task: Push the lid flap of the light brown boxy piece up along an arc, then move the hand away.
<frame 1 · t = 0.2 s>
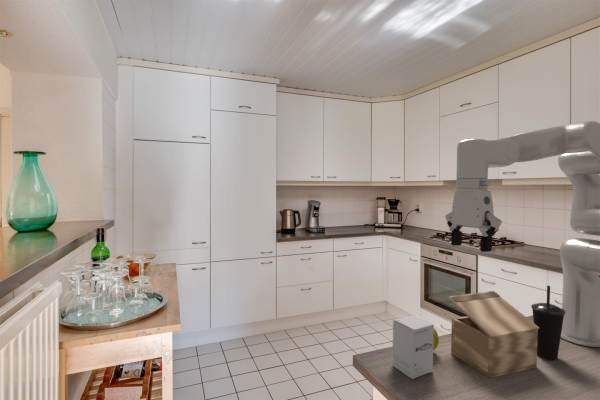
hand: (470, 248, 88), 31 cm above the countertop, tool pointing down, fingers open, 9 cm apart
supplement box: (412, 369, 85), on the countertop
light brown boxy piece: (492, 359, 89), on the countertop
drinking cup: (546, 356, 91), on the countertop
lemon: (427, 352, 94), on the countertop
lid flap: (492, 312, 89), point 13 cm above the countertop, hinge at 22.0°
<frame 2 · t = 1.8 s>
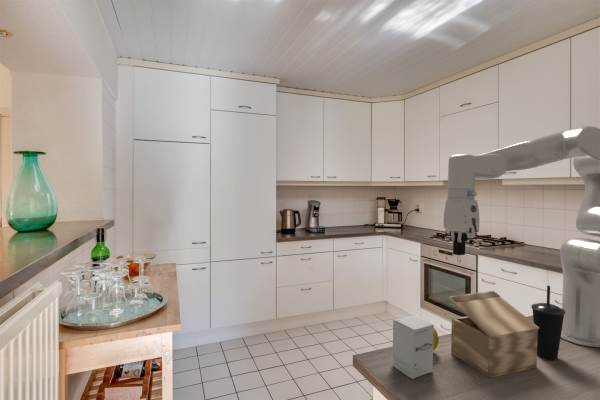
hand: (458, 254, 100), 27 cm above the countertop, tool pointing down, fingers closed
nothing on the countertop moved.
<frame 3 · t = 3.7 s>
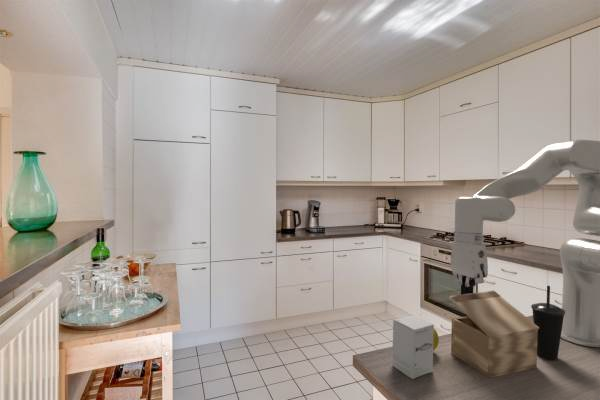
hand: (466, 298, 98), 14 cm above the countertop, tool pointing down, fingers closed
lid flap: (492, 311, 89), point 13 cm above the countertop, hinge at 22.5°, touching gripper
everything else where it was.
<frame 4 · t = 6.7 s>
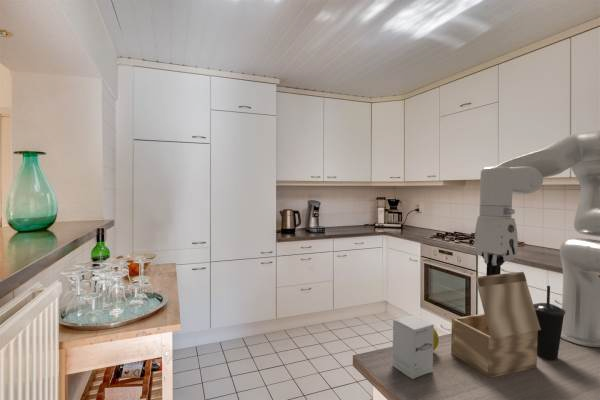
hand: (493, 278, 89), 22 cm above the countertop, tool pointing down, fingers closed
lid flap: (508, 303, 85), point 17 cm above the countertop, hinge at 70.1°, touching gripper
everything else where it was.
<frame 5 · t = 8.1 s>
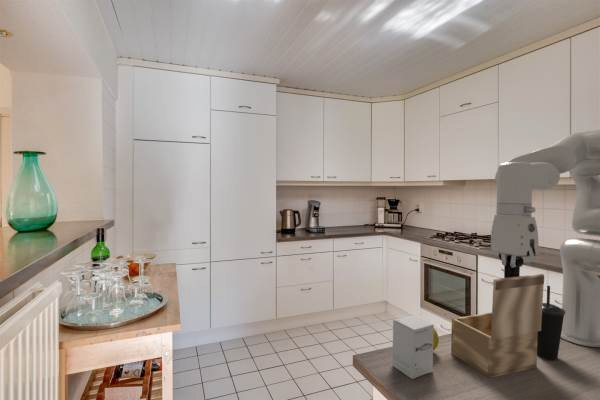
hand: (511, 281, 84), 23 cm above the countertop, tool pointing down, fingers closed
lid flap: (518, 305, 82), point 17 cm above the countertop, hinge at 91.4°, touching gripper
everything else where it was.
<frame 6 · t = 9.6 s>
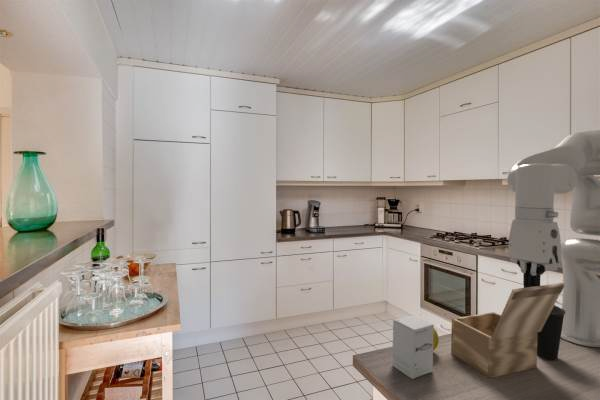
hand: (531, 289, 79), 23 cm above the countertop, tool pointing down, fingers closed
lid flap: (527, 311, 80), point 17 cm above the countertop, hinge at 110.8°, touching gripper
everything else where it was.
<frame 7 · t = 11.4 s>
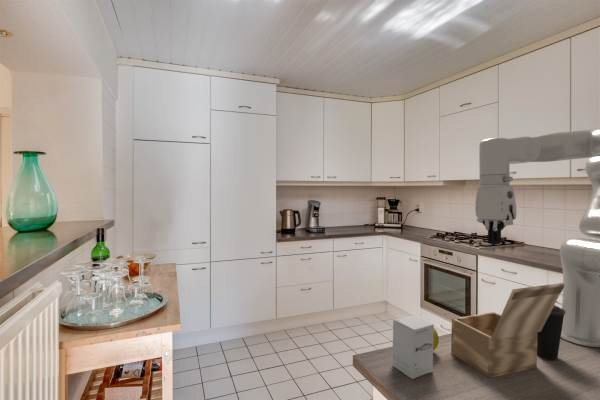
hand: (494, 243, 95), 31 cm above the countertop, tool pointing down, fingers closed
lid flap: (527, 311, 80), point 17 cm above the countertop, hinge at 111.0°
everything else where it was.
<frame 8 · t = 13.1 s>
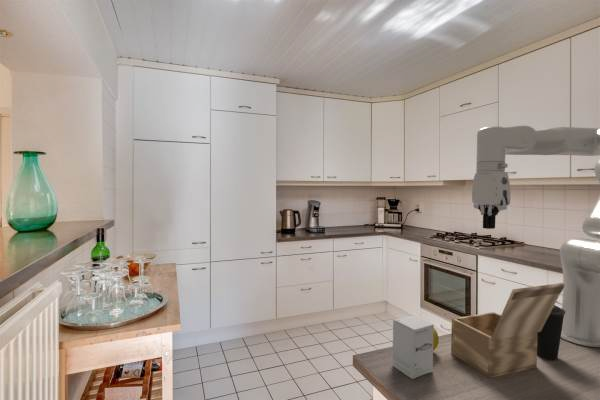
hand: (488, 228, 99), 35 cm above the countertop, tool pointing down, fingers closed
nothing on the countertop moved.
at the end: lid flap at +111° (first picture: +22°); drinking cup moved 0.2 cm from its start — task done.
